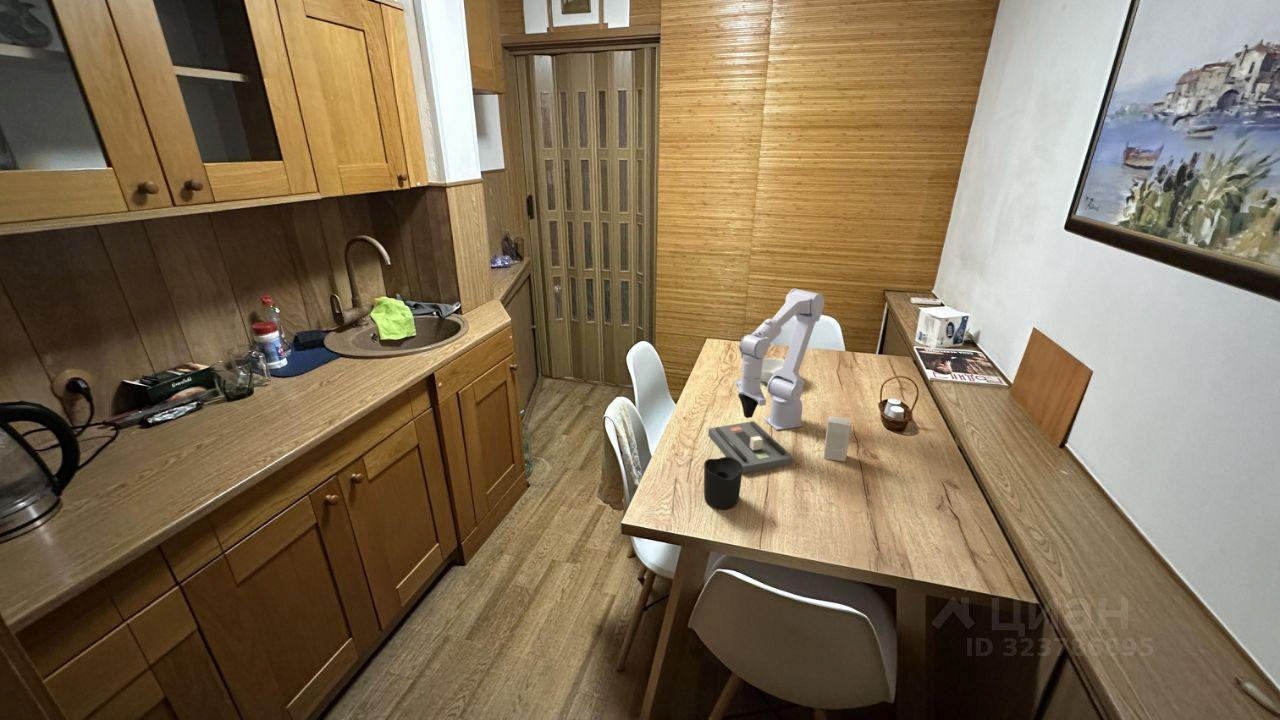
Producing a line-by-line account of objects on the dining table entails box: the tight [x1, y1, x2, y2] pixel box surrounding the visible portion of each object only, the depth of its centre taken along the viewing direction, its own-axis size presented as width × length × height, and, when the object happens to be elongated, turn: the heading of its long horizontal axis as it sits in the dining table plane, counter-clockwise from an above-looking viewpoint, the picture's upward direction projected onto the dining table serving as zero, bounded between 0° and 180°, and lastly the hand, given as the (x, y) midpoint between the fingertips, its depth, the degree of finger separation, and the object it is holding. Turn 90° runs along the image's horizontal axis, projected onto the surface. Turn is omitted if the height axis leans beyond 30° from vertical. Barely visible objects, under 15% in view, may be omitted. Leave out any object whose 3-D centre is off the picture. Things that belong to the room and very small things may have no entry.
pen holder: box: [703, 456, 743, 510], centre depth 124 cm, size 9×9×10 cm
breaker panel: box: [708, 420, 794, 475], centre depth 147 cm, size 16×22×4 cm
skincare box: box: [823, 415, 852, 462], centre depth 141 cm, size 6×4×12 cm
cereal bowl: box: [761, 357, 800, 385], centre depth 192 cm, size 17×17×7 cm
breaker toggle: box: [750, 436, 763, 450], centre depth 142 cm, size 3×2×3 cm
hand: (748, 416), depth 148 cm, fingers closed
